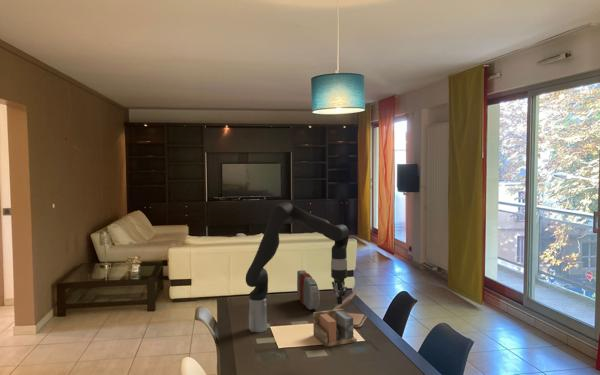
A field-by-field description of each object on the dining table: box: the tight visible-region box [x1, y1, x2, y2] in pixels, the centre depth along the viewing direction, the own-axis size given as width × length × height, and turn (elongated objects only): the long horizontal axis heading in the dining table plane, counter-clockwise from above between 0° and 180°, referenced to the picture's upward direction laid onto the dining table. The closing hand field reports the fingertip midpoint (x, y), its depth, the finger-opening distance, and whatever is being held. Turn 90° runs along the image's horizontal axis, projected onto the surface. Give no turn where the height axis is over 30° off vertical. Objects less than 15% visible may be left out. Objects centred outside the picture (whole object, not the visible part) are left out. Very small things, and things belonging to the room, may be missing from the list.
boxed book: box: [320, 314, 336, 342], centre depth 227 cm, size 4×12×10 cm, turn 19°
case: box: [332, 290, 368, 329], centre depth 255 cm, size 20×21×16 cm
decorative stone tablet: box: [296, 269, 321, 310], centre depth 283 cm, size 19×6×30 cm
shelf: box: [312, 308, 358, 347], centre depth 229 cm, size 17×16×12 cm
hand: (339, 303), depth 212 cm, fingers closed
